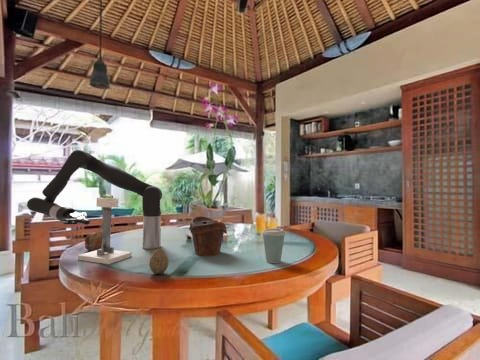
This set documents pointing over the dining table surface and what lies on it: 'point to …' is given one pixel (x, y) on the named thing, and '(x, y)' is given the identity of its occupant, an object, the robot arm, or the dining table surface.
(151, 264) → the decorative egg
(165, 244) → the dining table surface
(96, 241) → the brown textured slab
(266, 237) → the disposable coffee cup
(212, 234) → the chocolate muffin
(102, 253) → the base plate
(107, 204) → the post
